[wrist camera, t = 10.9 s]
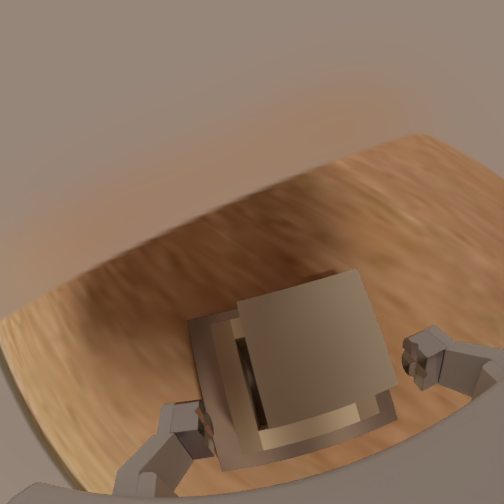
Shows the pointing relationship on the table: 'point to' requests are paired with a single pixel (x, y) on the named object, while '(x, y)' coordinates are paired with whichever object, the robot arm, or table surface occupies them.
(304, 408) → the beige rectangular block
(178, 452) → the robot arm
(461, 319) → the table surface
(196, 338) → the wooden socket base
